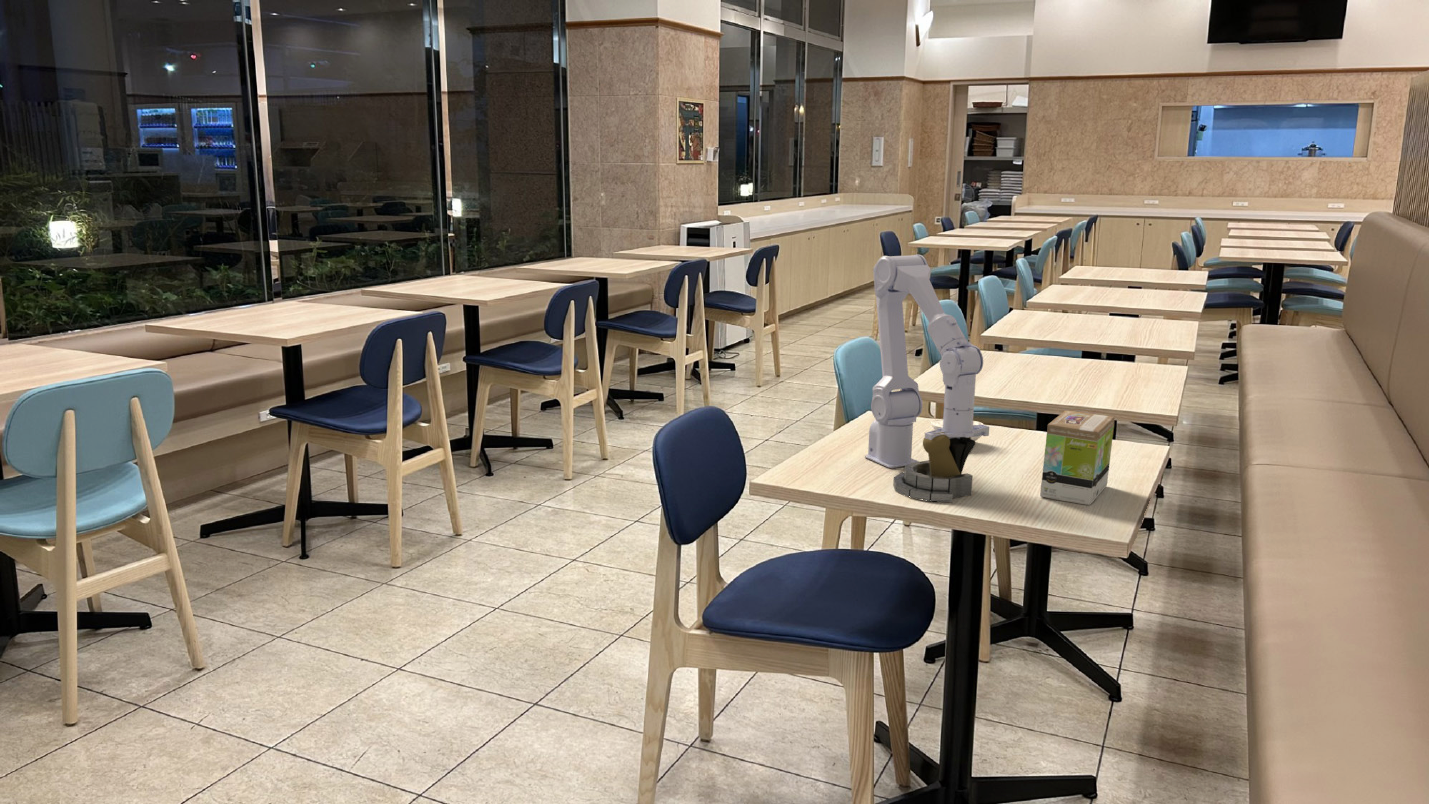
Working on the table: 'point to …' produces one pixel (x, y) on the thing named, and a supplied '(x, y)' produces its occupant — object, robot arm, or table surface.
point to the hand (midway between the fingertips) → (954, 474)
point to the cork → (940, 456)
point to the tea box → (1077, 457)
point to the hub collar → (931, 484)
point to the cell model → (939, 424)
